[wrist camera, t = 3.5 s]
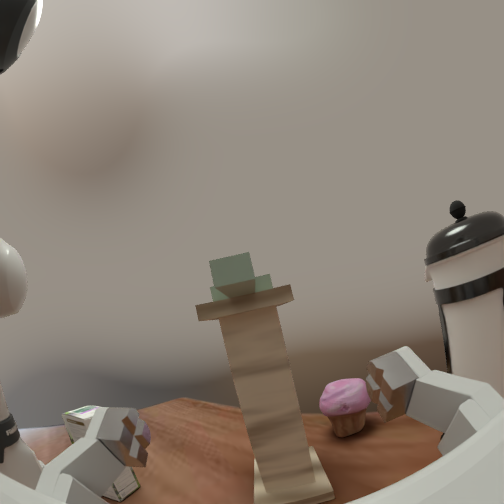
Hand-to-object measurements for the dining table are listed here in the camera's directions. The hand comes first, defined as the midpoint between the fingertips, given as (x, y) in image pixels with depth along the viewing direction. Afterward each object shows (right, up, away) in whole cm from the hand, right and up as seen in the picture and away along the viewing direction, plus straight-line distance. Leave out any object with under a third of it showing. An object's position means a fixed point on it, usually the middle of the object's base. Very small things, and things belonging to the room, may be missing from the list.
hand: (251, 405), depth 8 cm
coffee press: (+32, -17, +9) cm, 37 cm away
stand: (+5, -25, +17) cm, 31 cm away
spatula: (-1, +1, +18) cm, 18 cm away
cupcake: (+17, -25, +28) cm, 41 cm away
